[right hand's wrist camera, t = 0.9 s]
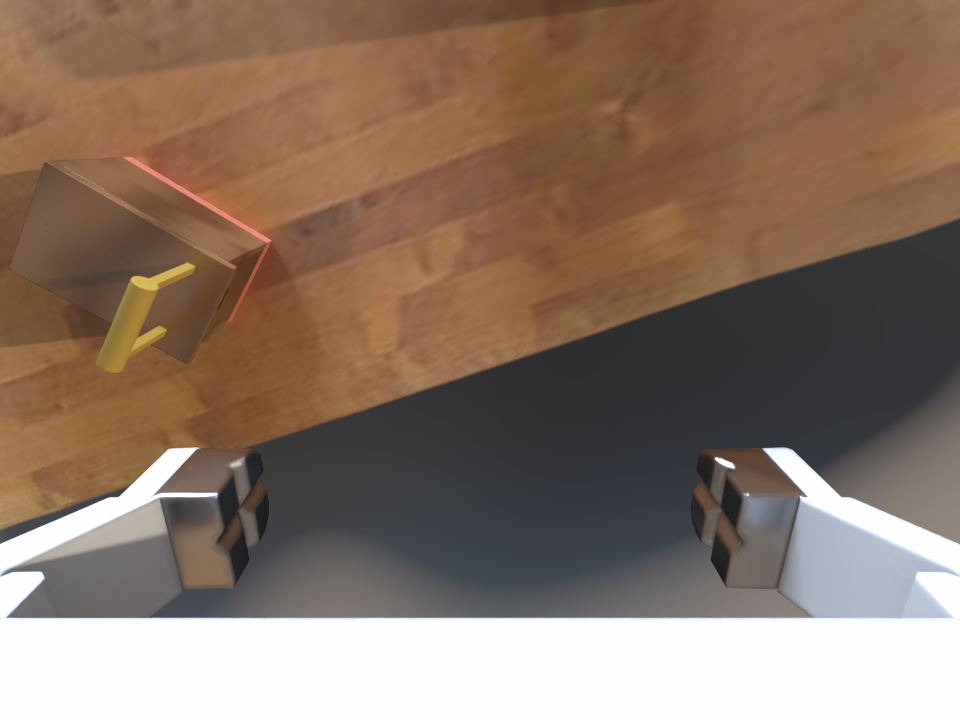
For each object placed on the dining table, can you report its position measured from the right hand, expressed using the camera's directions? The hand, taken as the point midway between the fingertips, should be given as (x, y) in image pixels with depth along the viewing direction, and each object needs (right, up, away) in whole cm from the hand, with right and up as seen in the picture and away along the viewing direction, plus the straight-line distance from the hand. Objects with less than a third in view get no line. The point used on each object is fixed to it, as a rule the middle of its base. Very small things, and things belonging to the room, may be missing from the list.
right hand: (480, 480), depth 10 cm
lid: (-28, +10, +33) cm, 45 cm away
